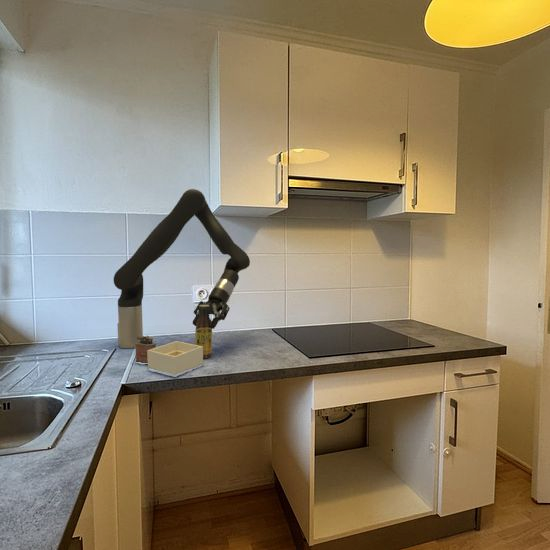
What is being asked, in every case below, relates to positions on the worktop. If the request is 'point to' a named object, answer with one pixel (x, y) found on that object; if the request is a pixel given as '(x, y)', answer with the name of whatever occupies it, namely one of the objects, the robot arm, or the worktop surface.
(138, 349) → the potted plant
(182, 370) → the crate
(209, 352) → the sauce bottle
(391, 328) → the worktop surface
